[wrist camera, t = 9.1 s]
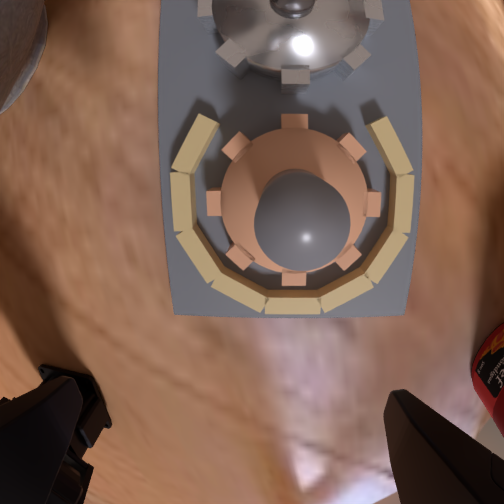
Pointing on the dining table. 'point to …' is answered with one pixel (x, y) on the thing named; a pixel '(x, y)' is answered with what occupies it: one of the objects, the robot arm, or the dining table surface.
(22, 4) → the pot
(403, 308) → the carrier plate
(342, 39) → the sun gear
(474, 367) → the canned food
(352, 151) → the planet gear
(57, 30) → the dining table surface
